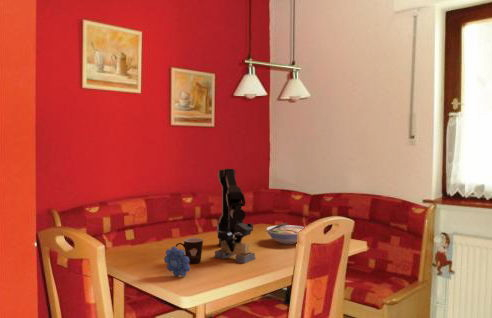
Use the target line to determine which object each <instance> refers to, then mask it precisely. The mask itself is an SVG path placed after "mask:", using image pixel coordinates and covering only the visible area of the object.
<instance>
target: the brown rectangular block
mask: <svg viewBox="0 0 492 318" xmlns="http://www.w3.org/2000/svg"><path fill="white" fill-rule="evenodd" d="M220 249H221V252H225V253H229V254H234V256H236V255H237V254H238V255H243V256H245V255H248V254H249V252H250V243H247V242H242V241H241V242H234V250H233V252H231V251H230V249H229V246H228V244H227V243H226V241H225V240H224V241H222V242H221V246H220Z"/></svg>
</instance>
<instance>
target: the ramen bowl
mask: <svg viewBox="0 0 492 318" xmlns="http://www.w3.org/2000/svg"><path fill="white" fill-rule="evenodd" d="M304 227H305V226H301V225H294V224H293V225H290V224H289V222H283V223H280V224H278V225H272V226H268V227H267V228H266V230H265V232H267V233H268V235H269V236H270V238H271V239H272V240H274V241H276V242H279V243H280V244H282V245H293V244H295V243H298V242H297V234H298V232H299V231H300V230H302V229H303V228H304Z"/></svg>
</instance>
